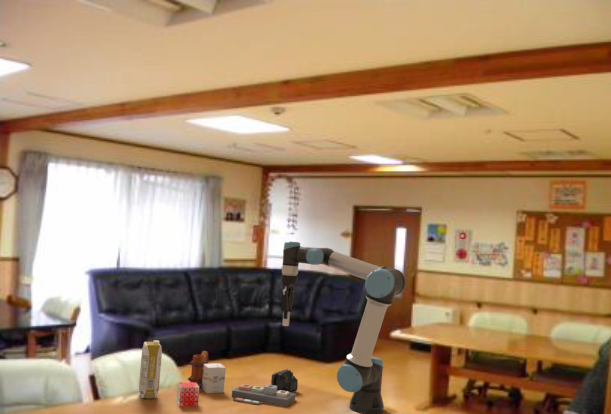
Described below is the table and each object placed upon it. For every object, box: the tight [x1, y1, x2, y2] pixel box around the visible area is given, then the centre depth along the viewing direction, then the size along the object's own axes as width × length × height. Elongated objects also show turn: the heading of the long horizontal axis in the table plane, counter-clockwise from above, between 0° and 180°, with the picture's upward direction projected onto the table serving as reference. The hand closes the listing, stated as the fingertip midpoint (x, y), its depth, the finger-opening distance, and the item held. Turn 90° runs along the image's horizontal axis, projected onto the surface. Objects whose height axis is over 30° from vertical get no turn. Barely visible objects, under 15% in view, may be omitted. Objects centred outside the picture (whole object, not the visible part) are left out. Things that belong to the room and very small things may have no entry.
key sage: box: [251, 385, 264, 393], centre depth 273 cm, size 5×5×4 cm
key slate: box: [263, 384, 278, 395], centre depth 271 cm, size 5×5×4 cm
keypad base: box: [231, 385, 296, 408], centre depth 272 cm, size 26×12×3 cm, turn 72°
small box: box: [175, 381, 200, 407], centre depth 256 cm, size 8×8×8 cm
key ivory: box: [276, 389, 289, 397], centre depth 269 cm, size 5×5×4 cm
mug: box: [187, 350, 209, 388], centre depth 288 cm, size 15×8×15 cm, turn 168°
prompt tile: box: [233, 398, 262, 406], centre depth 265 cm, size 12×3×1 cm, turn 72°
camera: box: [270, 368, 299, 393], centre depth 290 cm, size 13×10×10 cm
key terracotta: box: [238, 383, 253, 391], centre depth 275 cm, size 5×5×4 cm
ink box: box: [201, 362, 226, 394], centre depth 279 cm, size 9×8×12 cm
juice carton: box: [138, 340, 163, 399], centre depth 262 cm, size 9×8×24 cm
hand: (285, 325), depth 279 cm, fingers closed
